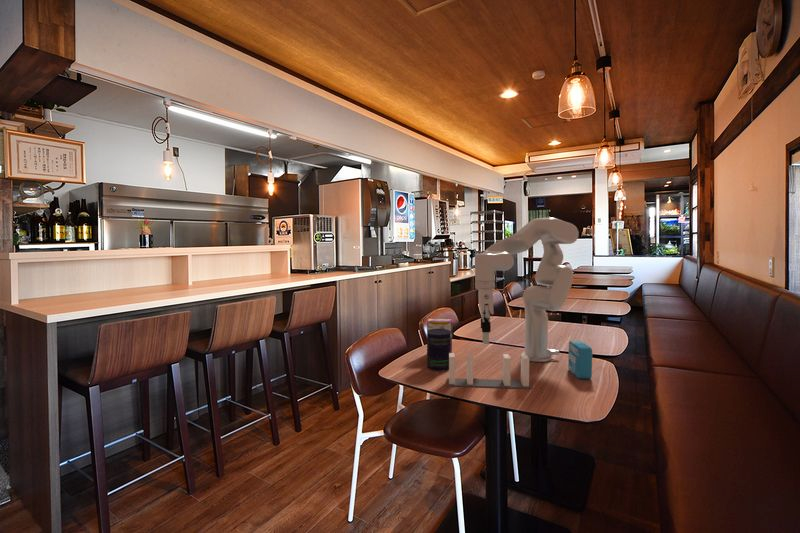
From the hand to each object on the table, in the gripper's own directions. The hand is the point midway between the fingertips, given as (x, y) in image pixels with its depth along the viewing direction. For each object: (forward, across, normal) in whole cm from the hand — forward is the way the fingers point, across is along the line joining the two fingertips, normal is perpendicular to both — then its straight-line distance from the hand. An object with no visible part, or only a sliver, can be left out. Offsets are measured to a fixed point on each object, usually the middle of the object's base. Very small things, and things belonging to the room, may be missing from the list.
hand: (485, 329), depth 160 cm
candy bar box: (+17, +18, +19) cm, 31 cm away
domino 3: (+16, -15, -6) cm, 22 cm away
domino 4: (+16, -15, -12) cm, 25 cm away
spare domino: (+5, 0, 0) cm, 5 cm away
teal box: (+17, -2, -35) cm, 39 cm away
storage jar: (+16, +2, +19) cm, 25 cm away
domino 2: (+16, -15, +7) cm, 23 cm away
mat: (+16, -15, +1) cm, 22 cm away
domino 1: (+16, -15, +14) cm, 25 cm away
